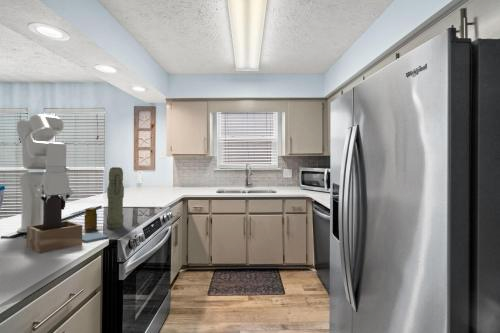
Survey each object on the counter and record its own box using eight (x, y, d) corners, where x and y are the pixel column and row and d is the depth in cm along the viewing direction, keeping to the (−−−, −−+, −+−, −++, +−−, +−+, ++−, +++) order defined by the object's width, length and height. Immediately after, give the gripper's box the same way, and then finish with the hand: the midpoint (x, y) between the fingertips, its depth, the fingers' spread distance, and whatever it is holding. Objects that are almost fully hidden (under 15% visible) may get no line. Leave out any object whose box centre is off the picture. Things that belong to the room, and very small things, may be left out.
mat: (74, 238, 138) (74, 236, 138) (95, 234, 147) (95, 232, 147) (85, 242, 131) (85, 240, 131) (107, 238, 140) (107, 236, 140)
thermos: (119, 224, 171) (120, 167, 170) (126, 227, 162) (127, 167, 162) (104, 225, 165) (105, 167, 165) (109, 229, 156) (110, 167, 156)
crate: (26, 246, 124) (27, 226, 123) (67, 238, 137) (67, 220, 137) (39, 253, 115) (40, 231, 115) (82, 244, 128) (82, 225, 128)
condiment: (87, 228, 158) (87, 207, 158) (102, 228, 159) (103, 207, 159) (80, 231, 151) (81, 209, 151) (97, 231, 152) (97, 209, 151)
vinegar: (45, 231, 127) (45, 187, 127) (62, 230, 130) (63, 187, 130) (40, 234, 121) (41, 188, 121) (59, 233, 124) (60, 188, 124)
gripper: (72, 169, 135) (71, 206, 135) (30, 169, 121) (29, 211, 121) (80, 170, 131) (79, 208, 131) (36, 170, 117) (35, 213, 117)
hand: (55, 209), depth 126 cm, fingers closed on vinegar, 4 cm apart
